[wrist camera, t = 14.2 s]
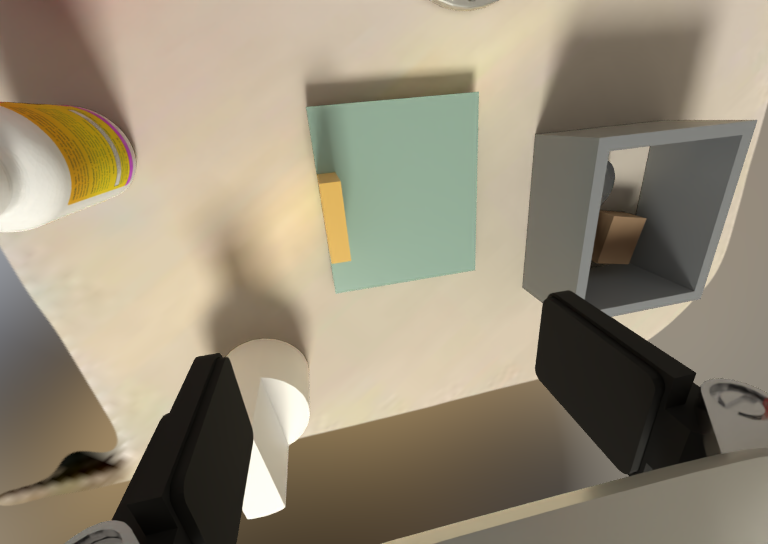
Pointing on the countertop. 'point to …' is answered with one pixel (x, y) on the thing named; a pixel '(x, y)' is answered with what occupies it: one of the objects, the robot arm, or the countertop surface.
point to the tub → (656, 203)
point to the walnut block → (616, 237)
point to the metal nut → (608, 182)
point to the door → (397, 187)
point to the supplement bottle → (58, 163)
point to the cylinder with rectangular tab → (271, 416)
